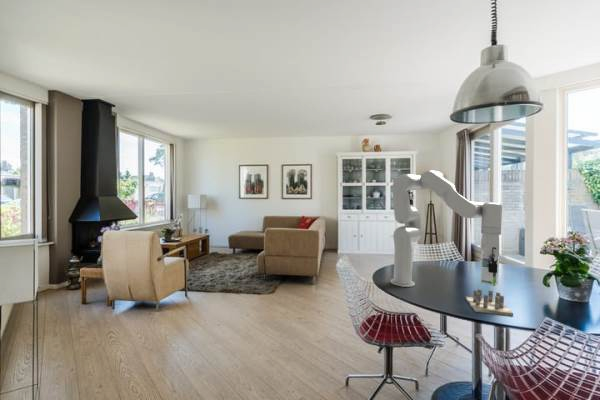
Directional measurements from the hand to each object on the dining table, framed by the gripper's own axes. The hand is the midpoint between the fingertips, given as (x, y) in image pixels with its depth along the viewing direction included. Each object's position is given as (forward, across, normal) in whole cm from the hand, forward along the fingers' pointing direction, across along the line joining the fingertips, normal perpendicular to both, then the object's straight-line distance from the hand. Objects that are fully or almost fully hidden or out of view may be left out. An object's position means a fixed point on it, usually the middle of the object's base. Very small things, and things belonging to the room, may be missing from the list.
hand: (489, 270), depth 134 cm
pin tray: (+17, 0, 0) cm, 17 cm away
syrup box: (+6, 0, 0) cm, 6 cm away
